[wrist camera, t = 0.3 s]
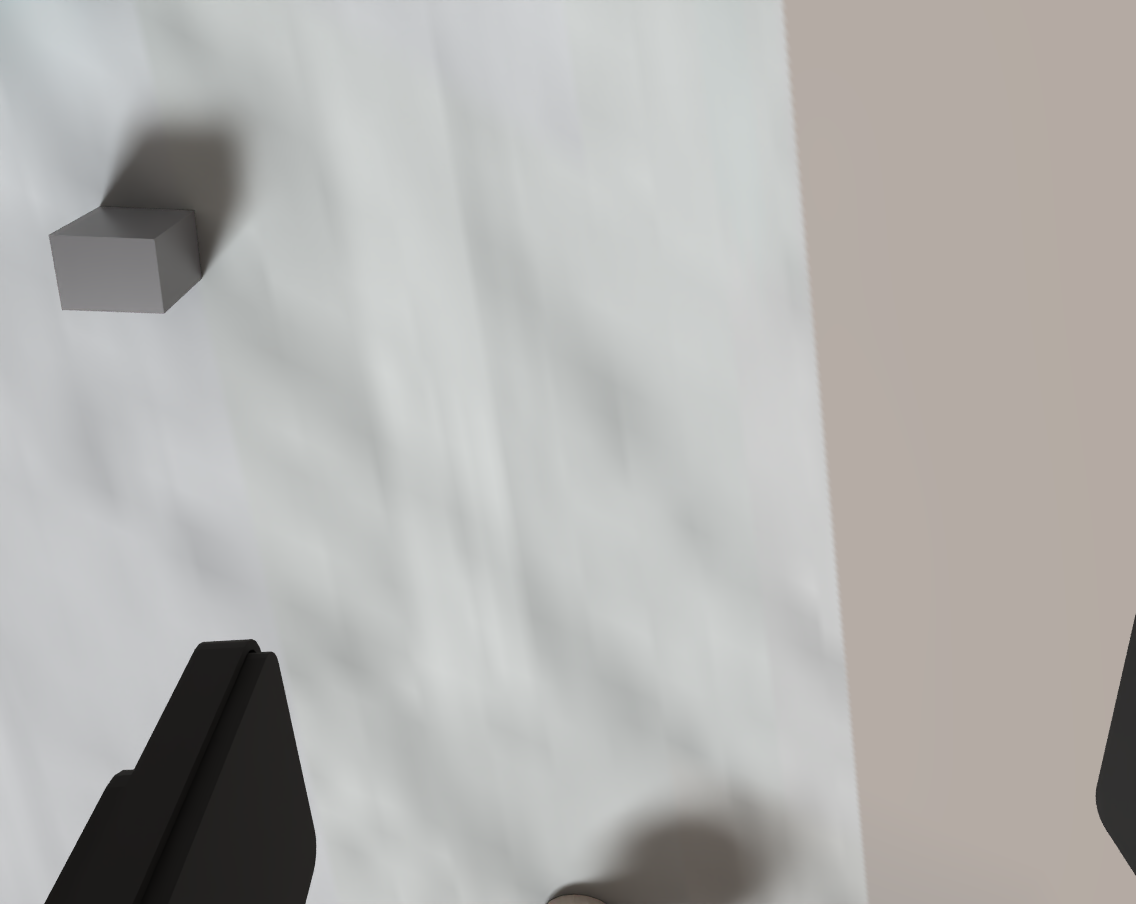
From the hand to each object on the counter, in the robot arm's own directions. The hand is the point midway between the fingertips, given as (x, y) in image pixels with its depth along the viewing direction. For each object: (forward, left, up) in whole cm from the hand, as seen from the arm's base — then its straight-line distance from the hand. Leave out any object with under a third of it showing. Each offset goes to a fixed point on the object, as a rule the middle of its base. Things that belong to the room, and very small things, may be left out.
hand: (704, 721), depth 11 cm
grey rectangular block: (+4, -19, -36) cm, 41 cm away
